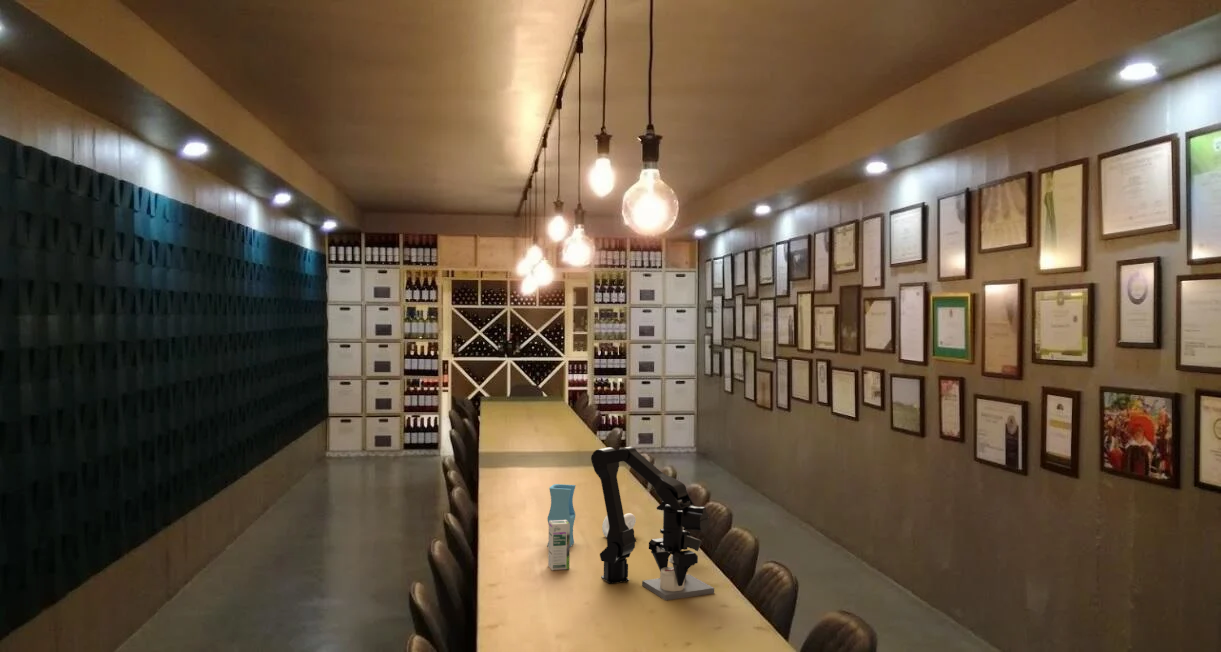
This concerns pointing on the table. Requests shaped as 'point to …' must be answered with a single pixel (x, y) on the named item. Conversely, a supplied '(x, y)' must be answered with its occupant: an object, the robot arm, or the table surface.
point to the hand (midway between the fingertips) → (672, 581)
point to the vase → (562, 505)
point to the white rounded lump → (629, 522)
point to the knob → (669, 580)
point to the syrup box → (559, 544)
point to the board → (690, 589)
